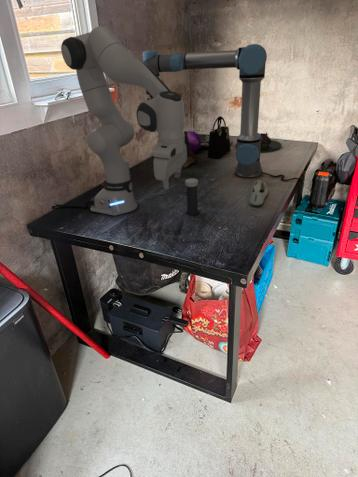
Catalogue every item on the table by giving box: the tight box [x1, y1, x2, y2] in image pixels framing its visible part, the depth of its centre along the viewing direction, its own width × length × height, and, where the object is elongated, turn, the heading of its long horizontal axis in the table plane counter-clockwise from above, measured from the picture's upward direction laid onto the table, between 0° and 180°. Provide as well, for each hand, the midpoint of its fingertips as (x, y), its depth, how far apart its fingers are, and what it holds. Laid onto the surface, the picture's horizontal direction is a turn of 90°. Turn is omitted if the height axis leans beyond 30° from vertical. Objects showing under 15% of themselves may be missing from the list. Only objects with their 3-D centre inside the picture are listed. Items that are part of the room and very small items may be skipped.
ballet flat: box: [249, 179, 269, 207], centre depth 158 cm, size 8×24×8 cm, turn 163°
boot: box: [182, 130, 197, 169], centre depth 209 cm, size 9×24×20 cm, turn 168°
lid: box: [184, 178, 199, 187], centre depth 142 cm, size 6×6×2 cm
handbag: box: [206, 115, 231, 159], centre depth 220 cm, size 21×9×25 cm, turn 148°
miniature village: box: [235, 132, 282, 154], centre depth 237 cm, size 32×35×9 cm
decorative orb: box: [186, 130, 202, 154], centre depth 230 cm, size 15×15×15 cm
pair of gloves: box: [198, 134, 234, 150], centre depth 250 cm, size 30×26×5 cm
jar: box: [186, 185, 199, 216], centre depth 145 cm, size 5×5×15 cm
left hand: (172, 182), depth 118 cm, fingers open, 8 cm apart
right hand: (156, 128), depth 177 cm, fingers open, 13 cm apart
